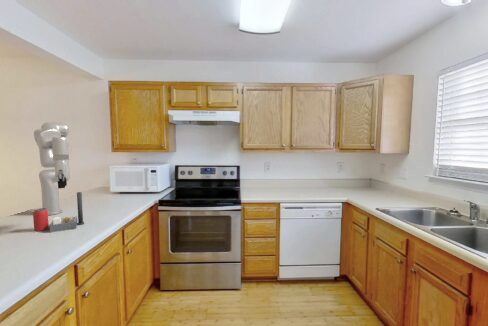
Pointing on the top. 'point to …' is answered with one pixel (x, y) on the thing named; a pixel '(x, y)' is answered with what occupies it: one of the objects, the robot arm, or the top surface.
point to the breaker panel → (64, 224)
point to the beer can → (40, 219)
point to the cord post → (80, 208)
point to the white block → (57, 220)
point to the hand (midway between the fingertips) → (62, 187)
